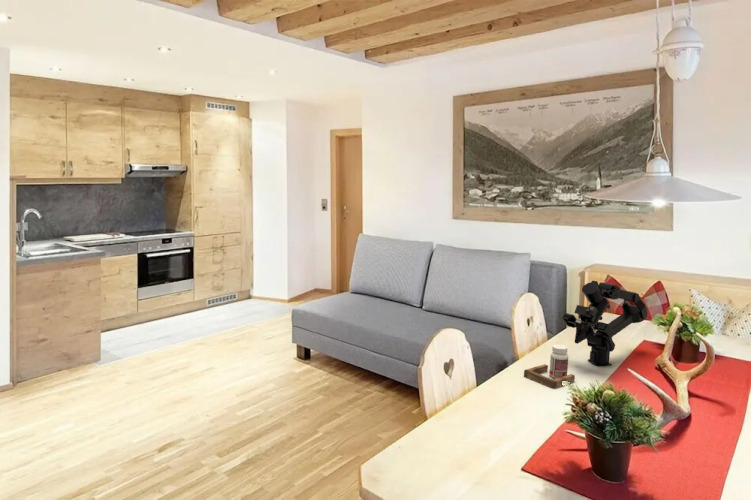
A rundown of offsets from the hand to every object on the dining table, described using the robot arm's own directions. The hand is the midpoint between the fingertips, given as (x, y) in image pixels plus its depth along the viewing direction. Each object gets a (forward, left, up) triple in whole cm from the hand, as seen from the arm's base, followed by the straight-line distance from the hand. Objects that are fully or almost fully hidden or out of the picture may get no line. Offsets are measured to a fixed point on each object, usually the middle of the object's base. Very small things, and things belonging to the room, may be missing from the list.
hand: (575, 342), depth 195 cm
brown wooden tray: (+13, +5, -11) cm, 18 cm away
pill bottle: (+9, +3, -11) cm, 15 cm away
